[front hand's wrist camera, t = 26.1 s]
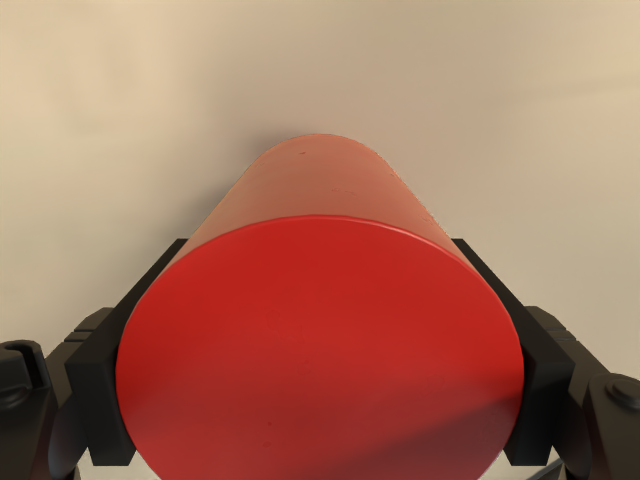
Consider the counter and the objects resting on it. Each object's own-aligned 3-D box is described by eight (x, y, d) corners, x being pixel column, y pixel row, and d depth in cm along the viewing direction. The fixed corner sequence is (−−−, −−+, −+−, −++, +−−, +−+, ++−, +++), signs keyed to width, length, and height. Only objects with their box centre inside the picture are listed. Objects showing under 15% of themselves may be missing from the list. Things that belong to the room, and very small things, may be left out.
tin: (194, 196, 18) (22, 353, 8) (352, 95, 16) (409, 116, 6) (293, 328, 21) (266, 580, 10) (438, 251, 19) (582, 456, 9)
